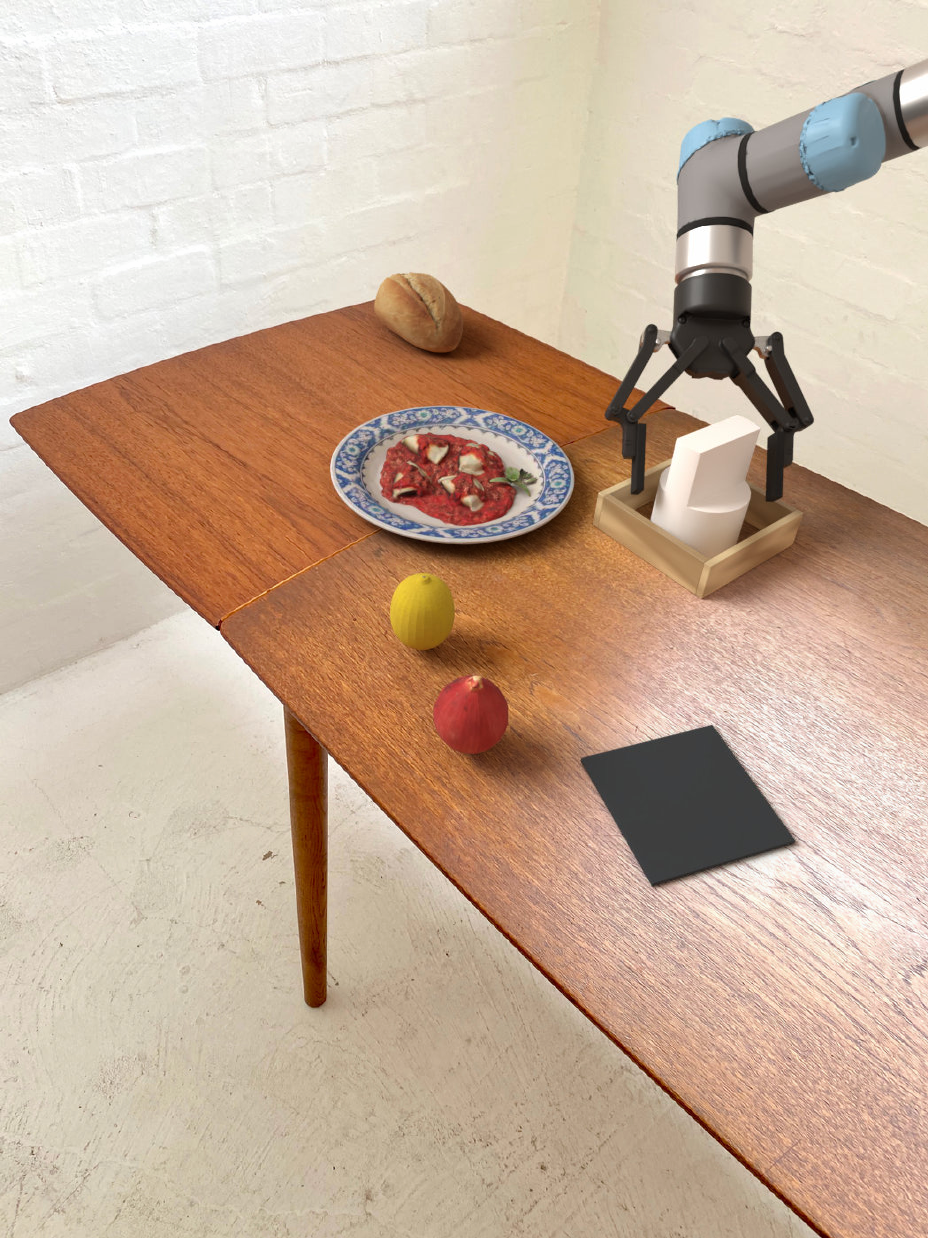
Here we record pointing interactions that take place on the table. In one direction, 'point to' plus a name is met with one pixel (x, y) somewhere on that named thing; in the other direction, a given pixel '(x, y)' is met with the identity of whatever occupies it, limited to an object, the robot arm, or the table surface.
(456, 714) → the onion
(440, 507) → the ceramic plate
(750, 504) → the square wooden frame
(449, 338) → the bread roll
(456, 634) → the table surface
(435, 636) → the lemon
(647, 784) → the slate mat
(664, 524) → the cylinder with rectangular tab
